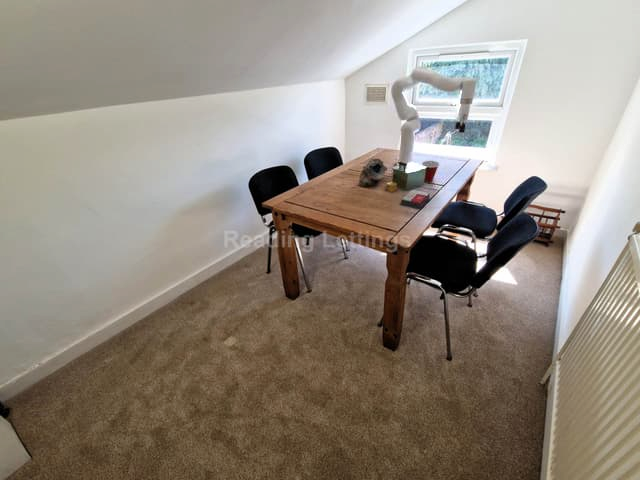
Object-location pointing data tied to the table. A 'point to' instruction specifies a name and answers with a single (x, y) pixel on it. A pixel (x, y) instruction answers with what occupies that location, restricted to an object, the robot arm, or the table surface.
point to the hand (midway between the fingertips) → (459, 130)
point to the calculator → (415, 199)
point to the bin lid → (408, 167)
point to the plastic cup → (430, 170)
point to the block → (391, 186)
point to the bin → (408, 179)
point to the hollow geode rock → (372, 172)
